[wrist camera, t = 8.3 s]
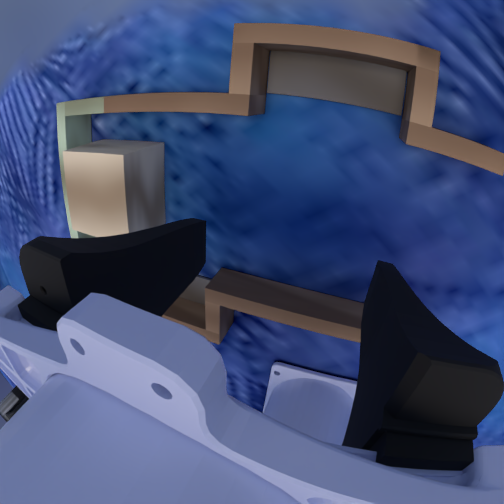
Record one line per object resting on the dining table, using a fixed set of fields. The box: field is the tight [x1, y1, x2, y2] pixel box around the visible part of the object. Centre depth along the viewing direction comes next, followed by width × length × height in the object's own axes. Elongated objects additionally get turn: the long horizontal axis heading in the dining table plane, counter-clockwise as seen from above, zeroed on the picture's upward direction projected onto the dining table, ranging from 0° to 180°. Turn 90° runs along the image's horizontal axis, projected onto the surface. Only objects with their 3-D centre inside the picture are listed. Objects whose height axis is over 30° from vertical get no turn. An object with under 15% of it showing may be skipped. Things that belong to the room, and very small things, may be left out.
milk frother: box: [0, 386, 29, 422], centre depth 59 cm, size 14×16×15 cm
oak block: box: [63, 139, 166, 237], centre depth 18 cm, size 6×6×4 cm
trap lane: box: [57, 23, 504, 344], centre depth 17 cm, size 19×26×2 cm
